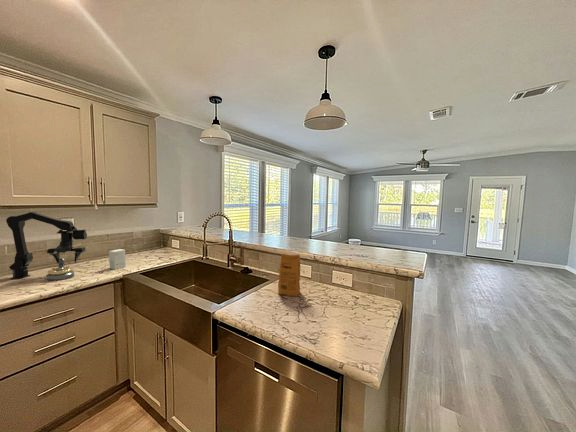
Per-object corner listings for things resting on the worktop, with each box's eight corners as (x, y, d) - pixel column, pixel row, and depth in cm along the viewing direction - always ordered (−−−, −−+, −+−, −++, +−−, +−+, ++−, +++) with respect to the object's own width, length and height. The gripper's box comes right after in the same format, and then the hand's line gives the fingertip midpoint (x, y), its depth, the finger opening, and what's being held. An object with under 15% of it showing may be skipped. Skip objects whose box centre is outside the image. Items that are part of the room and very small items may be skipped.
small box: (120, 265, 184) (119, 248, 183) (126, 266, 182) (125, 249, 181) (109, 268, 177) (108, 250, 176) (115, 269, 174) (114, 251, 174)
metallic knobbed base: (71, 273, 154) (70, 262, 153) (47, 276, 147) (46, 265, 146) (72, 267, 167) (72, 257, 167) (50, 269, 160) (50, 259, 160)
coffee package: (281, 288, 141) (282, 251, 140) (302, 291, 137) (302, 253, 136) (275, 294, 132) (275, 255, 130) (297, 297, 128) (297, 257, 126)
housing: (36, 281, 148) (36, 276, 148) (63, 272, 166) (63, 268, 166) (61, 281, 148) (60, 276, 148) (85, 272, 166) (85, 268, 166)
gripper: (41, 242, 152) (41, 266, 153) (78, 241, 158) (78, 264, 159) (51, 239, 163) (52, 262, 163) (85, 238, 169) (85, 260, 170)
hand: (66, 262), depth 164 cm, fingers open, 9 cm apart
